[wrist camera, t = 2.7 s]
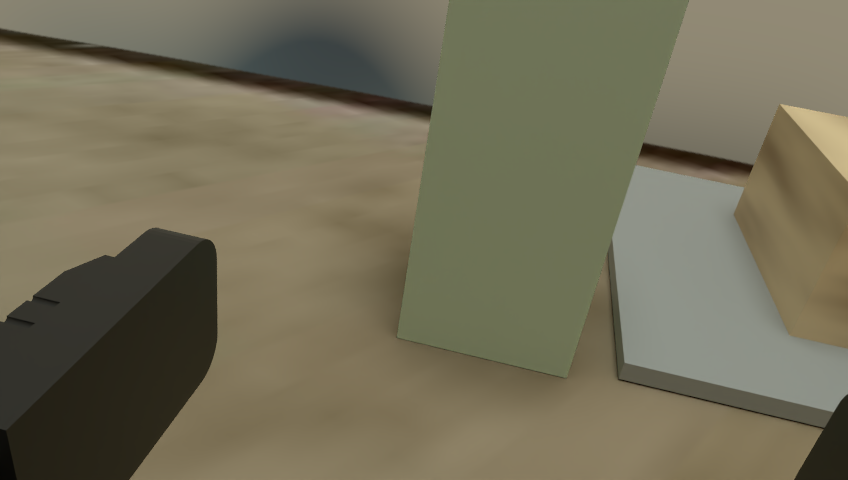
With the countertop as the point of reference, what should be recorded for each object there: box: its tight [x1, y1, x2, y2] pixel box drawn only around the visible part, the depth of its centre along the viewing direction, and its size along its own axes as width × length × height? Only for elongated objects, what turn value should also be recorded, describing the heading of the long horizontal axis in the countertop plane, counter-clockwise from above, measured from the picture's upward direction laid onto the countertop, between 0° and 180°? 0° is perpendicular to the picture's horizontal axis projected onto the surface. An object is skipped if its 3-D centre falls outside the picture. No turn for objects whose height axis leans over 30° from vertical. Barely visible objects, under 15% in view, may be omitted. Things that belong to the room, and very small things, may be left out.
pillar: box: [397, 0, 689, 378], centre depth 19 cm, size 5×5×12 cm
